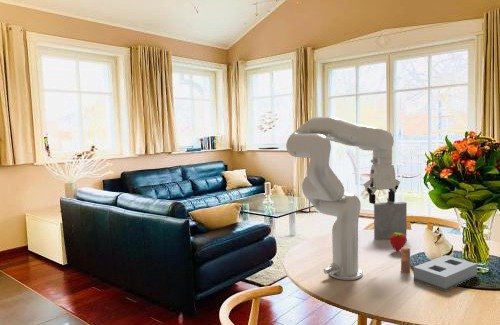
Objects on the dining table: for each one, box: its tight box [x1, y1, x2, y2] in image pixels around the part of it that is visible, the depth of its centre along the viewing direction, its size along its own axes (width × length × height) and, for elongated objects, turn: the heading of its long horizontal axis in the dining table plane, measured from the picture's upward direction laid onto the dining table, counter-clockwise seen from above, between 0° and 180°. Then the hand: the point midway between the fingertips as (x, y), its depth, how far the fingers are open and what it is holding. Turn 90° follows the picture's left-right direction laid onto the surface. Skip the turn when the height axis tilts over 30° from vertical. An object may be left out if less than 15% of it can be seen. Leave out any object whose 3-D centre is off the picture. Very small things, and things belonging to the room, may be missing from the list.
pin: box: [400, 246, 411, 274], centre depth 151 cm, size 3×3×9 cm
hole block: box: [413, 254, 478, 292], centre depth 143 cm, size 20×12×5 cm, turn 123°
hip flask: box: [373, 198, 408, 241], centre depth 192 cm, size 16×4×20 cm, turn 93°
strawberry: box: [389, 232, 408, 252], centre depth 173 cm, size 6×8×10 cm
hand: (381, 202), depth 164 cm, fingers open, 9 cm apart
